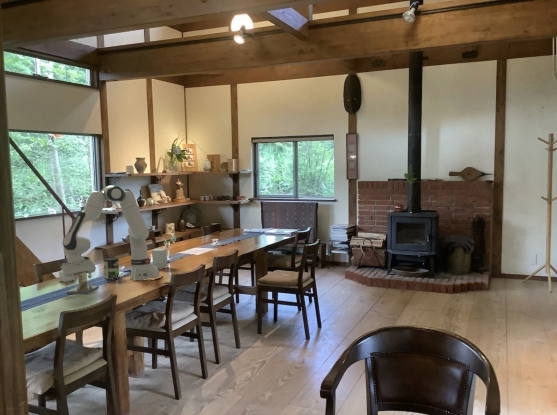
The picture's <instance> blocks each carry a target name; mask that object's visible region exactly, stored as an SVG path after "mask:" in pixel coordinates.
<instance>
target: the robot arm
mask: <svg viewBox="0 0 557 415" xmlns="http://www.w3.org/2000/svg"><path fill="white" fill-rule="evenodd" d="M107 202H111V203H112V202H118V203H119V205H120V208H121V211H122V214H123V217H124V219H125V221H126V223H127V225H128V228H127V232H128V238H129V239H128V240H129V244H130V250H131V251H130V252H131V253H130V254H131V259H130V266H131V270H130V272H131V273H130V278H131V279H130V278H129V279H130V280H132V279H133V280H132V281H134V280H144V279H148V278H156V277H158V276H159V275H160V274H161V273H160V269H158V268H157V267H155V266H154V265H153V263H151V261H152V259H151V258H149V257H148V246H147V242H146V240H147V239H148V238H149V235H150V230H149V228H148V227H147V224H146V221H145V220H144V219H145V218H143V215H142V212H141V210H140V208H139V206H138V202H137V200H136V198H135V196H134V193H132V191H130V190H123V189H122V188H121V187H120V186H118V185H113V184H111V185H106V186H104V187H103V188H102V189H100V190H94V191H92V192H91V193H90V195H89V196H88V199H87V201H86V203H85V206H84V208H83V209H82V210H81V211H79V213H78V214H77V215H76V216H75V218H74V220H73V223H71V226H70V228H69V229H68V232H67V233H66V235H65V236H64V237H63V240H62V247H63V252H64V254H65V257H66V258H67V263H62V264H61V265H60V269H61V271H63V275H64V277H71V278H72V279H73V281H74V282H76V281H77V280H78V279H77V276H78V273H81V272H86V273H87V279H91V278H92V273H95V271H96V268H97V267H96V265H95V263H94V261H93V260H91V257H90V256H84V255H83V254H85V253H87V252H88V251H89V250H90V248H91V241H90V239H89V238H87V237H83V236H78V234H79V232H80V231H81V228H82V227H83V224H85V223H86V222H87V223H88V222H91V221H96V220H97V219H98V218H100V216H101V214H103V213H102V212H103V209H104V205H105V204H106V203H107ZM75 276H76V277H75Z"/></svg>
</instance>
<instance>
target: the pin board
mask: <svg viewBox="0 0 557 415" xmlns="http://www.w3.org/2000/svg"><path fill="white" fill-rule="evenodd" d="M97 288H98V289H99V285H93V284H92V281H91V282H88V285H87V288H86V289H80V286H79V284H76V286H75V287H73V288H71V289H69V290H67V291H66V293H67V294H68V295H72V294H74V295H75V294H76V295H88V293H89V294H91V293H92V292H94V291H97V290H98V289H97ZM90 292H91V293H90Z"/></svg>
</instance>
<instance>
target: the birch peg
mask: <svg viewBox="0 0 557 415" xmlns="http://www.w3.org/2000/svg"><path fill="white" fill-rule="evenodd" d="M77 277H78V279H77V280H78V285H79V286H80V289H86V288H87V286H88V273H86V272H81V273H78V275H77Z"/></svg>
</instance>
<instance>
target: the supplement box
mask: <svg viewBox="0 0 557 415" xmlns="http://www.w3.org/2000/svg"><path fill="white" fill-rule="evenodd" d="M167 250H168V249H167V248H154V249H152V250H151V255H152V256H151V258H152V259H151V261H152V264H153V265H154V266H155V267H157V268H165V267H166V266H167V267H168V252H167ZM167 267H166V268H167ZM166 268H165V269H166Z"/></svg>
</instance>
